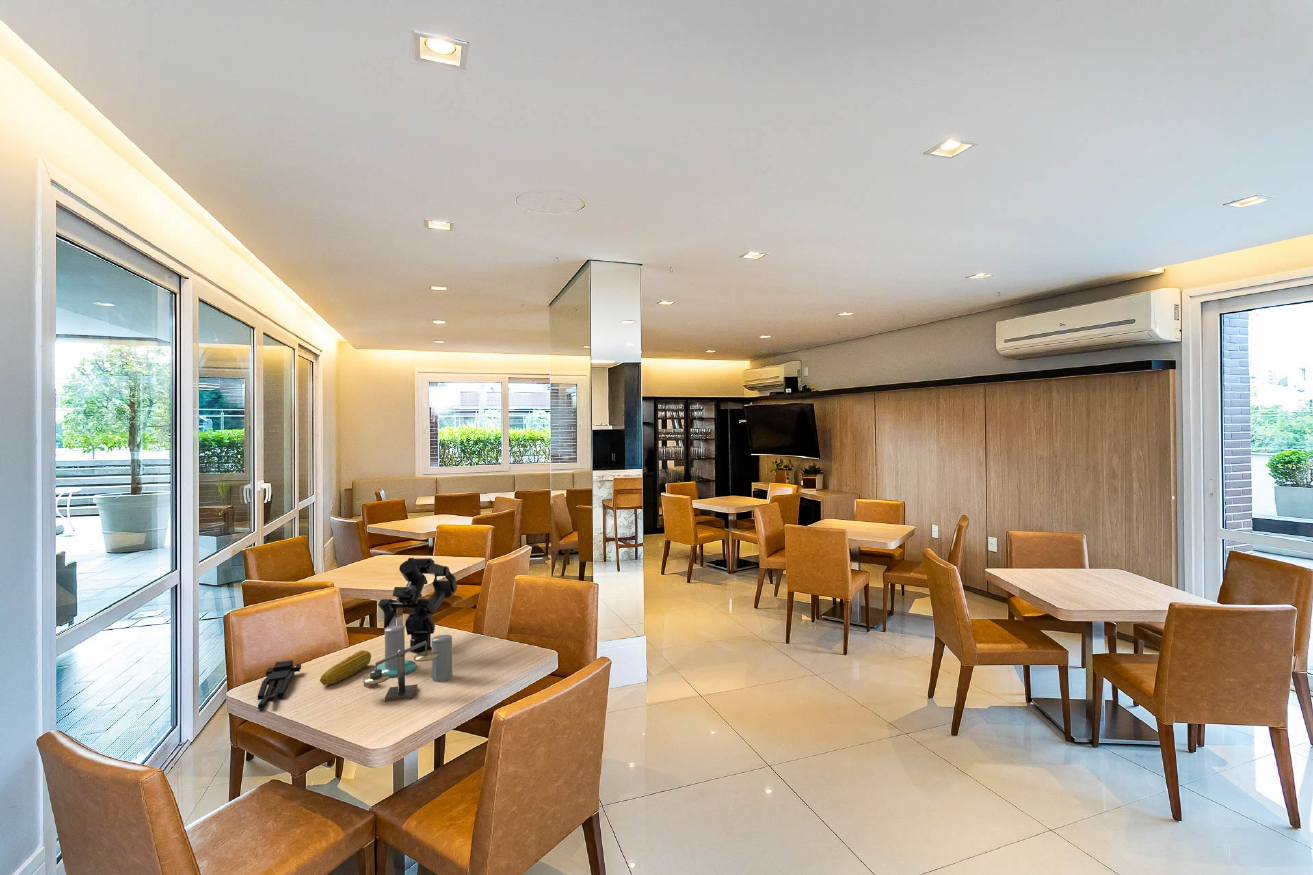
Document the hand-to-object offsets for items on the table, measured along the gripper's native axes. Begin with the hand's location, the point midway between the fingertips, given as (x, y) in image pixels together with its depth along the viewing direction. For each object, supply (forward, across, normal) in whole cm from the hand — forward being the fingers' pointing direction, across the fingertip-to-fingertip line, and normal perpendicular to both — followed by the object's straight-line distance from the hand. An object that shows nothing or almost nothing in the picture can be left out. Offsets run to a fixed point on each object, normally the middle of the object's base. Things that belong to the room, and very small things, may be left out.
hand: (397, 628), depth 205 cm
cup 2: (+16, +22, +2) cm, 27 cm away
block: (+21, +2, -4) cm, 22 cm away
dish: (+12, +2, +5) cm, 14 cm away
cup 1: (+11, +2, +5) cm, 12 cm away
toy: (+26, -26, -8) cm, 38 cm away
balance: (+25, +16, -8) cm, 31 cm away
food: (+17, -11, +2) cm, 20 cm away
